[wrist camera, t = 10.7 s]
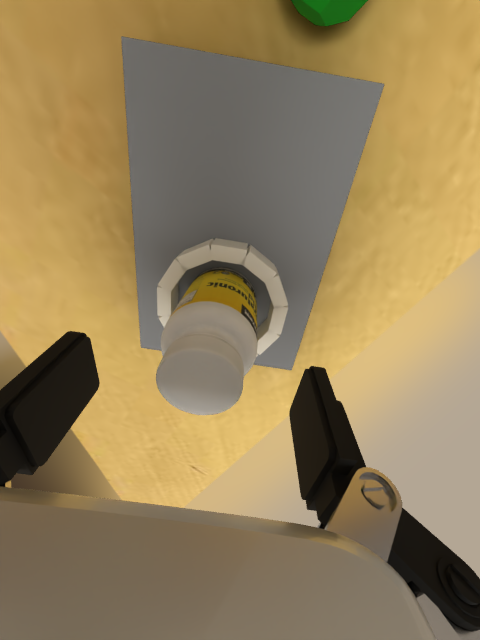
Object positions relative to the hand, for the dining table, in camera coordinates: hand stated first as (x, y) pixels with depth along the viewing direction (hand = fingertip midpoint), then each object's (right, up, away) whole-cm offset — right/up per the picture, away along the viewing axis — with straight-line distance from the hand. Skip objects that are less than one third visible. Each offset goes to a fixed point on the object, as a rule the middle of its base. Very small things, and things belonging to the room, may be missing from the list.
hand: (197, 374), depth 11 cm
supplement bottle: (+1, +4, +9) cm, 10 cm away
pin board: (+1, +8, +8) cm, 12 cm away
